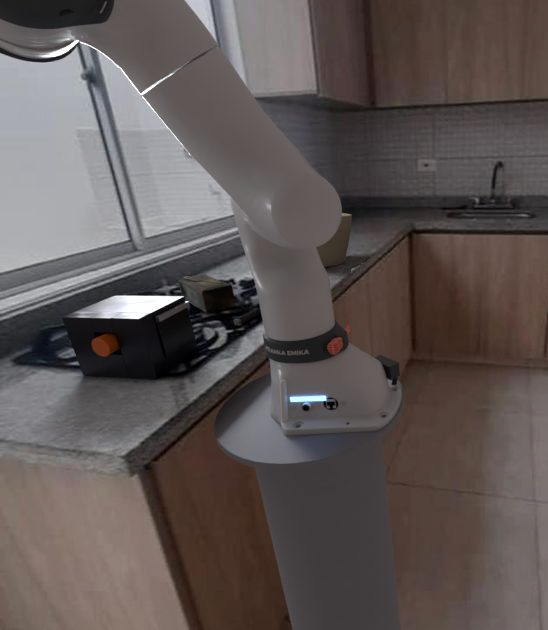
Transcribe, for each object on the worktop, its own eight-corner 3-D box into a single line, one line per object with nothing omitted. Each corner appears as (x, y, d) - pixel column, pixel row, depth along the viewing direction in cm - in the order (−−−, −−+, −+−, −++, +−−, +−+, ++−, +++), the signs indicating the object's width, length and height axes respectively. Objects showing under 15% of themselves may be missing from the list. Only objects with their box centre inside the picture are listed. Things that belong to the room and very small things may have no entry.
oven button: (126, 348, 81) (121, 331, 80) (112, 357, 78) (106, 338, 77) (110, 348, 82) (104, 330, 81) (95, 356, 79) (88, 338, 78)
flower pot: (331, 254, 167) (325, 209, 161) (358, 263, 153) (353, 214, 147) (283, 264, 156) (275, 216, 150) (307, 274, 142) (300, 222, 136)
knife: (277, 293, 120) (292, 294, 119) (278, 299, 121) (293, 300, 119) (227, 318, 103) (245, 319, 102) (229, 325, 104) (246, 327, 102)
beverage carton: (210, 292, 129) (205, 270, 127) (237, 306, 116) (232, 283, 114) (181, 299, 124) (176, 277, 122) (207, 315, 111) (201, 290, 109)
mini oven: (202, 350, 91) (188, 296, 87) (161, 379, 80) (143, 319, 76) (132, 348, 94) (115, 295, 90) (83, 375, 83) (61, 317, 79)
